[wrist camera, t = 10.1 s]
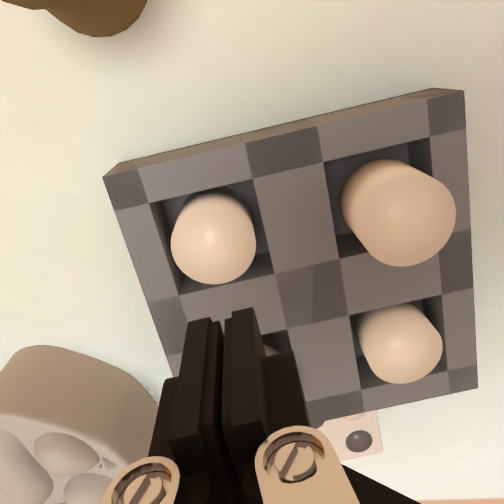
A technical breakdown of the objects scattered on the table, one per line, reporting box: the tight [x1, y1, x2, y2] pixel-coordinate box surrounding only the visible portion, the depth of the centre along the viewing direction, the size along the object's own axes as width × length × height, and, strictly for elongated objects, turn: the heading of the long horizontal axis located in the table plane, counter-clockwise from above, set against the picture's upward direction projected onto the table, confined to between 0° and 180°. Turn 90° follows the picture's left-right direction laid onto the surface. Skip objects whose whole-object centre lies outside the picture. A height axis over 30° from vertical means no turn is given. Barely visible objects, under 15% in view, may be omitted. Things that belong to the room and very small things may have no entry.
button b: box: [351, 301, 443, 384], centre depth 31 cm, size 5×5×4 cm
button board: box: [102, 88, 478, 424], centre depth 30 cm, size 20×20×4 cm
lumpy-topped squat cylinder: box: [0, 345, 158, 504], centre depth 32 cm, size 10×13×9 cm
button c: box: [171, 186, 256, 284], centre depth 28 cm, size 5×5×4 cm
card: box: [311, 410, 383, 461], centre depth 37 cm, size 7×7×1 cm
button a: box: [340, 158, 456, 267], centre depth 25 cm, size 5×5×4 cm
